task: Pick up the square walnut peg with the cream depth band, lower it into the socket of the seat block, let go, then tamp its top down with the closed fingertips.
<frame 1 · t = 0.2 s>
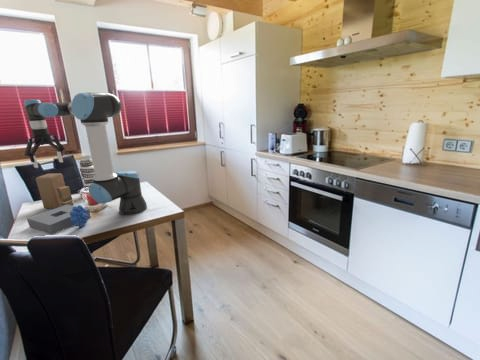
hand: (49, 164, 150), 27 cm above the table, tool pointing down, fingers open, 13 cm apart
grapes: (83, 227, 130), on the table
wooden block: (57, 205, 160), on the table
walnut peg: (68, 209, 153), on the table
seat block: (61, 222, 136), on the table
decorative candle: (93, 194, 178), on the table
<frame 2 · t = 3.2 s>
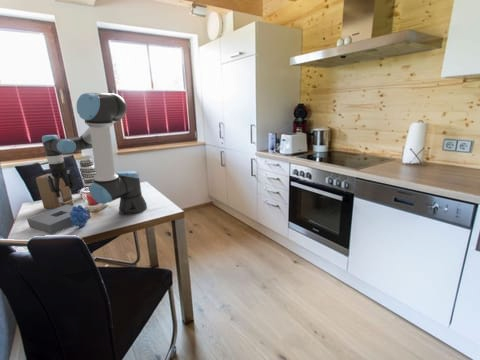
hand: (66, 200, 152), 6 cm above the table, tool pointing down, fingers closed on walnut peg, 5 cm apart
walnut peg: (68, 209, 153), on the table, touching gripper
everything else where it was.
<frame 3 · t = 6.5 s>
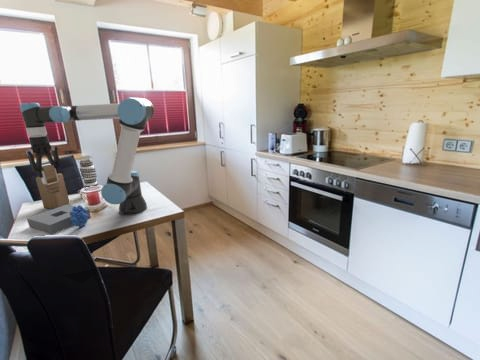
hand: (50, 181, 130), 23 cm above the table, tool pointing down, fingers closed on walnut peg, 5 cm apart
walnut peg: (53, 192, 131), point 17 cm above the table, touching gripper
everything else where it was.
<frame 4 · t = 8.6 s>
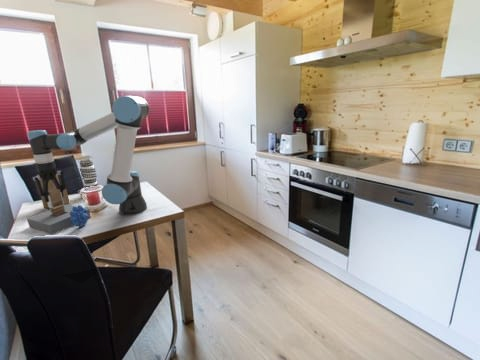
hand: (56, 205, 133), 10 cm above the table, tool pointing down, fingers closed on walnut peg, 5 cm apart
walnut peg: (58, 215, 135), point 4 cm above the table, touching gripper
everything else where it was.
when the fingers open (7 cm above the table, at t = 10.1 s): walnut peg drops 1 cm, resting in seat block.
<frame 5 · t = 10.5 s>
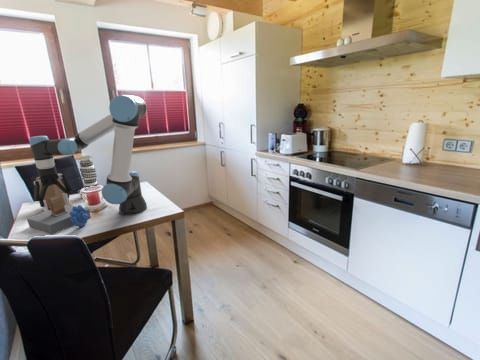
hand: (57, 208, 133), 8 cm above the table, tool pointing down, fingers open, 10 cm apart
walnut peg: (61, 222, 136), resting in seat block
everything else where it was.
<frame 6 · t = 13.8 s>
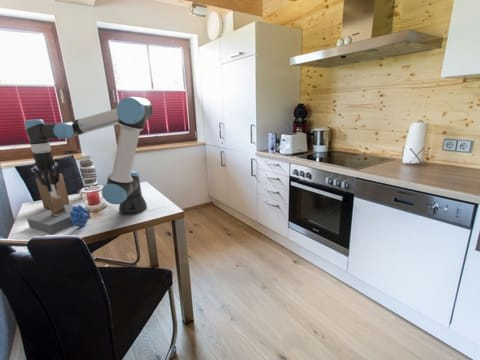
hand: (54, 196, 131), 15 cm above the table, tool pointing down, fingers closed
nothing on the table moved.
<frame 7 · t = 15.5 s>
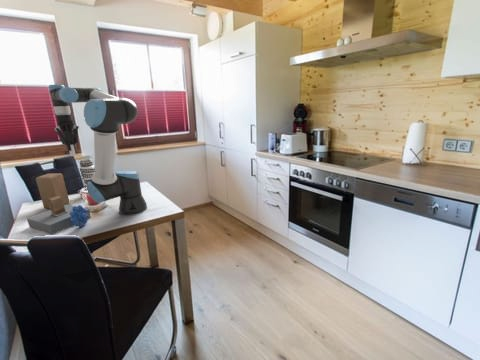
hand: (73, 155, 148), 32 cm above the table, tool pointing down, fingers closed
nothing on the table moved.
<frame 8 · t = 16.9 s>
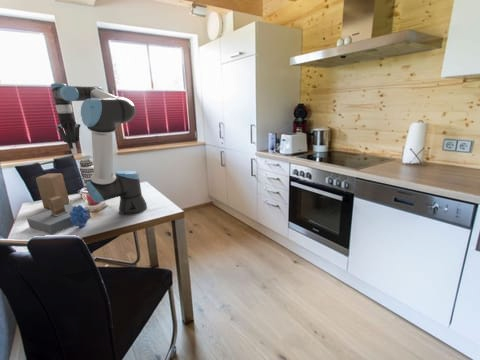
hand: (74, 153, 150), 32 cm above the table, tool pointing down, fingers closed
nothing on the table moved.
at the end: walnut peg 0.0 cm off-centre on the seat block, point 0.0 cm above the seat block's base; walnut peg tilted 0°; the gripper is holding nothing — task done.
